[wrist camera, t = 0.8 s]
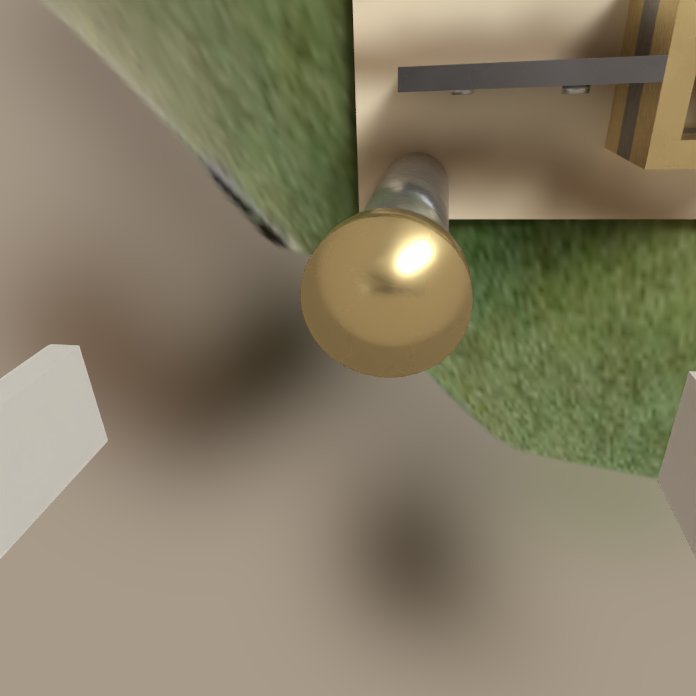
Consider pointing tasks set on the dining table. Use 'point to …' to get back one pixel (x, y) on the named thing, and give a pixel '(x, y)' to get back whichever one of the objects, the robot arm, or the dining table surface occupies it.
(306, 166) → the dining table surface
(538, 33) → the mounting board
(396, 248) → the hinge pin
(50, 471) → the robot arm
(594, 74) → the hinge
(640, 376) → the dining table surface
